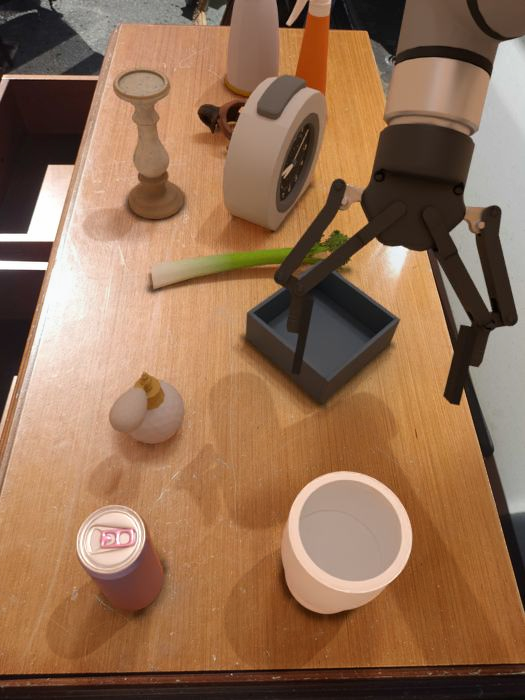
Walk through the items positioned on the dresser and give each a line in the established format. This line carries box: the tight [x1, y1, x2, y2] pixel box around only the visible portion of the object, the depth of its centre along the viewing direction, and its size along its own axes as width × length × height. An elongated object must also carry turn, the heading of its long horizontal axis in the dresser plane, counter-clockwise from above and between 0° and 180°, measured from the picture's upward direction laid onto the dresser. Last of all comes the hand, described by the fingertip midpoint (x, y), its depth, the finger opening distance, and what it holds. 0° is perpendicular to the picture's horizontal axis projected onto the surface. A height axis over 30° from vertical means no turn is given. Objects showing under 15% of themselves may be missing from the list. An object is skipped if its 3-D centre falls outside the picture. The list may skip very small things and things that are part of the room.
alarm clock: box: [221, 73, 328, 231], centre depth 85 cm, size 21×8×20 cm, turn 153°
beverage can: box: [75, 504, 164, 612], centre depth 52 cm, size 6×6×15 cm
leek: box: [149, 229, 351, 290], centre depth 82 cm, size 6×7×30 cm
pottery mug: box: [197, 98, 248, 151], centre depth 100 cm, size 12×10×8 cm
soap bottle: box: [224, 0, 280, 98], centre depth 103 cm, size 11×12×26 cm
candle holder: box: [112, 67, 184, 220], centre depth 83 cm, size 9×9×20 cm
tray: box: [245, 260, 401, 405], centre depth 74 cm, size 14×14×6 cm
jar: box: [280, 470, 413, 615], centre depth 53 cm, size 11×10×15 cm
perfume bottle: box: [108, 371, 186, 445], centre depth 62 cm, size 8×10×12 cm
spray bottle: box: [285, 0, 332, 97], centre depth 96 cm, size 7×11×26 cm, turn 132°
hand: (372, 386), depth 48 cm, fingers open, 13 cm apart
